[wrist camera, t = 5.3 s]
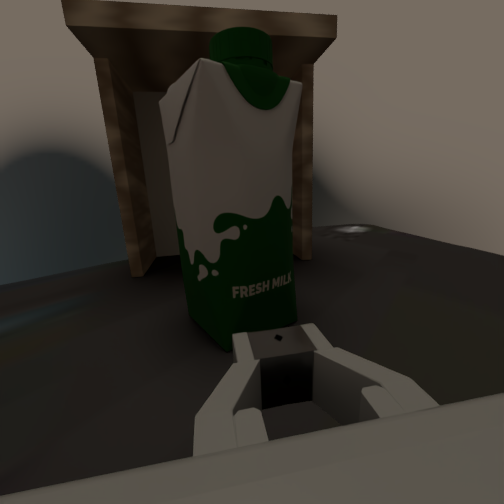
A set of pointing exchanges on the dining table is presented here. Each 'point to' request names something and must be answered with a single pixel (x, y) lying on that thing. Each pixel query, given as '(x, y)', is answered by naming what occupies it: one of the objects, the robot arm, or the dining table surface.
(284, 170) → the milk carton
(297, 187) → the wooden shelf
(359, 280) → the dining table surface
